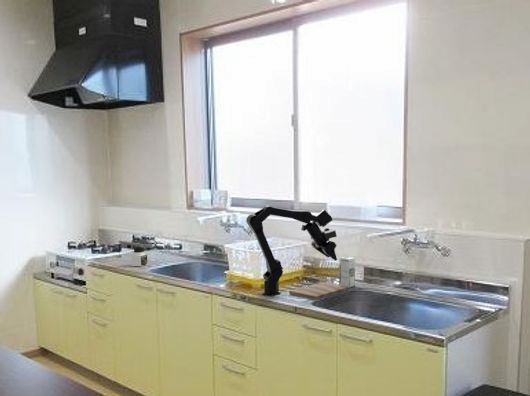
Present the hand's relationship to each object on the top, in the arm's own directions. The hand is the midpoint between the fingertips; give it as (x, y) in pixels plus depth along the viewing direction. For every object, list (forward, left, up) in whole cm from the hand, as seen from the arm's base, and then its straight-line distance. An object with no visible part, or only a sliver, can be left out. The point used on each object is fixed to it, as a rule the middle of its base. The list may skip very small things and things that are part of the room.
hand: (332, 258), depth 259 cm
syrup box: (+8, -3, -15) cm, 17 cm away
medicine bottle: (-31, +127, -15) cm, 132 cm away
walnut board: (-10, 0, -15) cm, 18 cm away
